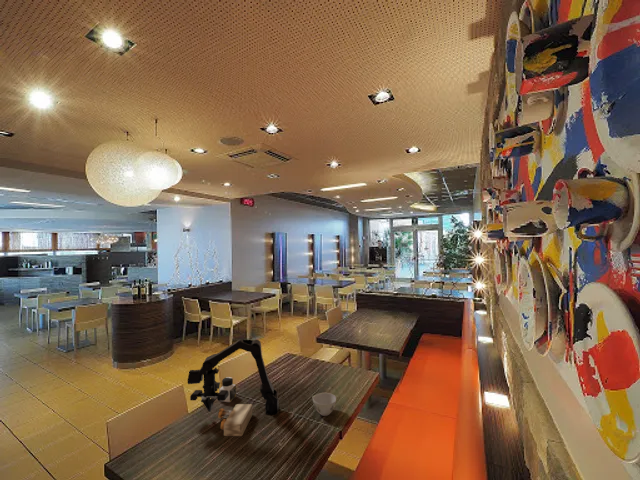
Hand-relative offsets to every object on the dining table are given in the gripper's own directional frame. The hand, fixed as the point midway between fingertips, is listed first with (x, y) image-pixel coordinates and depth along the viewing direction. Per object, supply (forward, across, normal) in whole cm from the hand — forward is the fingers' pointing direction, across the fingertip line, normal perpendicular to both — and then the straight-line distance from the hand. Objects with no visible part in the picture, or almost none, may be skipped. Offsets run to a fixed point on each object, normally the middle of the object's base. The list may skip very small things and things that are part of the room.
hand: (209, 411), depth 149 cm
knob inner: (+3, -10, 0) cm, 11 cm away
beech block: (+4, -17, +4) cm, 18 cm away
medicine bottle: (+4, -2, -20) cm, 20 cm away
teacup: (+4, -60, -8) cm, 61 cm away
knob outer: (+3, -16, +9) cm, 18 cm away
